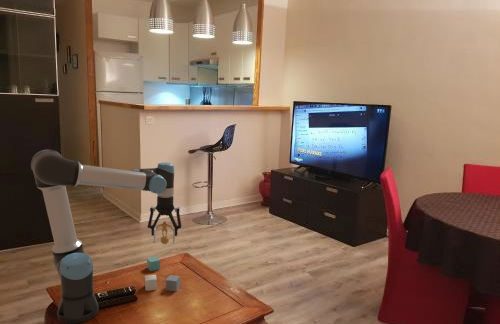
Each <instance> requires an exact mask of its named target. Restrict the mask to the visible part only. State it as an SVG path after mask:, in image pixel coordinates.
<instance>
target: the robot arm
mask: <svg viewBox="0 0 500 324" xmlns="http://www.w3.org/2000/svg"><path fill="white" fill-rule="evenodd" d="M30 168H31V171H32V172H33V177H34V180H35V185H36V187H37V189H39V190H41V192H42V195H43V200H44V203H45V204H44V205H45V208H46V213H47V217H48V221H49V226H50V229H51V234H52V237H53V242H54V245H53V247H52V248H51V252H52V256H53V257H52V258H53V265H54V267H55V269H56V271H57V274H58V276H59V279H60V291H61V299H60V302H59V305H58V308H57V314H56V315H57V320H58V321H59V322H61V323H63V324H81V323H85V322H89V321H90V320H92V319H93V318H94V317H95V316H97V315H98V313H99V303H98V301H97V298H96V295H95V292H94V273H93V272H94V264H93V258H92V257H91V256H90V255H89V254H88V253H85V250H84V247H83V246H84V245H83V241H82V240H81V239H78V237H77V233H76V227H75V223H74V219H73V214H72V208H71V205H70V200H69V195H68V192H67V187H74V188H75V187H77V186H78V185H84V186H93V187H105V188H114V189H115V188H116V189H124V190H137V191H144V192H151V193H153V194H157V196H156V206H150V208H149V211H150V214H149V219H148V223H147V228H148V229H150V230H151V236H152V237H153V243H154V244H156V242H157V230H156V228H157V224H158V221H159V219H160V218H161V216H166V217H167V216H168V217H169V220H170V221H171V224H172V225H173V230H172V244H175V243H176V237H177V236H178V230H179V229H182V221H181V215H180V209H181V208H180V207H179V206H178V207H176V206H175V205H174V193H175V192H174V191H175V190H174V189H175V184H174V183H175V182H174V181H175V166H174V164H173V163H171V162H160V163H157V167H153V168H152V167H151V168H135V169H132V170H127V169H120V168H119V169H118V168H112V167H110V168H109V167H104V166H103V167H102V166H95V165H88V164H81V162H80V161H77V160H72V159H68V158H65V157H64V156H63V155H62V154H60V152H58V151H56V150H53V149H43V150H40V151H38V152H36V153H35V154H34V155H33V156H32V159H31V162H30ZM156 211H157V212H158V214H157V216H156V217H155V219H154V222H153V218H154V213H155V212H156ZM174 211H175V213H176V219H177V222H176V219H175V218H174V215H173V213H172V212H174ZM152 222H153V223H152Z"/></svg>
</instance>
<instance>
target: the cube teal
mask: <svg viewBox="0 0 500 324" xmlns="http://www.w3.org/2000/svg"><path fill="white" fill-rule="evenodd" d="M146 260H147V261H146V262H147V263H146V268H147V269H148V270H149V272H155V271H159V270H161V259H160V258H159V257H158V256H153V257H149V258H146Z"/></svg>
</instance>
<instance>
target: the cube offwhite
mask: <svg viewBox="0 0 500 324" xmlns="http://www.w3.org/2000/svg"><path fill="white" fill-rule="evenodd" d="M157 281H158V278H157V274H148V275H147V274H146V275H144V287H145V288H144V289H145V292H146V291H147V292H148V291H157V290H158V282H157Z"/></svg>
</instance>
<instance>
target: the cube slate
mask: <svg viewBox="0 0 500 324" xmlns="http://www.w3.org/2000/svg"><path fill="white" fill-rule="evenodd" d="M180 287H181V276H180V275H171V274H170V275H168V276H167V278H166V280H165V291H172V292H178V289H179V288H180Z"/></svg>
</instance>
